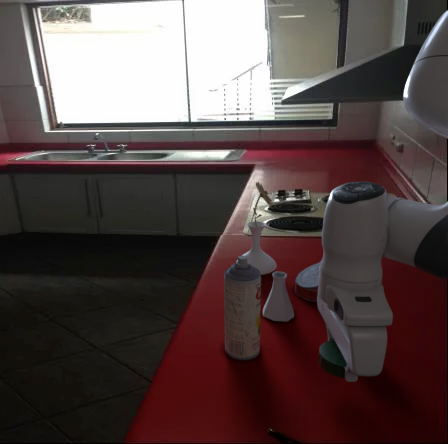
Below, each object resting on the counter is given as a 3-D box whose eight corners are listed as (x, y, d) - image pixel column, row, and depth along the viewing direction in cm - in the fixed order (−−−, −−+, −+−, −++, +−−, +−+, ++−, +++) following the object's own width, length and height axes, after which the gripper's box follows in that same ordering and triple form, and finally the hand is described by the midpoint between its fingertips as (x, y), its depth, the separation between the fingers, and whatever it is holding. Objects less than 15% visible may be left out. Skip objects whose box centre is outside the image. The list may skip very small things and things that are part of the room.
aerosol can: (262, 359, 80) (264, 264, 74) (227, 360, 80) (226, 265, 74) (256, 339, 86) (257, 249, 80) (223, 340, 87) (222, 251, 81)
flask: (298, 310, 96) (300, 270, 93) (290, 325, 91) (292, 284, 87) (267, 303, 100) (268, 265, 97) (257, 318, 94) (258, 277, 91)
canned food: (327, 318, 101) (325, 294, 94) (288, 302, 107) (284, 278, 100) (347, 285, 105) (347, 259, 99) (309, 271, 112) (307, 246, 105)
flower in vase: (275, 280, 111) (278, 189, 104) (232, 277, 115) (232, 188, 107) (278, 261, 123) (280, 178, 115) (239, 258, 126) (239, 178, 119)
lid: (320, 375, 67) (321, 363, 66) (316, 349, 73) (317, 338, 73) (367, 380, 65) (368, 368, 65) (359, 353, 72) (360, 342, 71)
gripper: (310, 260, 75) (306, 327, 79) (349, 322, 56) (341, 406, 60) (347, 260, 74) (340, 327, 79) (399, 322, 55) (387, 407, 59)
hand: (341, 362), depth 69 cm, fingers closed on lid, 7 cm apart
